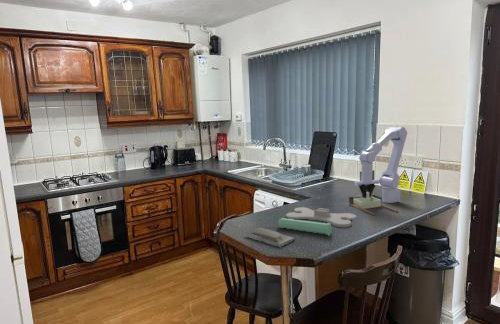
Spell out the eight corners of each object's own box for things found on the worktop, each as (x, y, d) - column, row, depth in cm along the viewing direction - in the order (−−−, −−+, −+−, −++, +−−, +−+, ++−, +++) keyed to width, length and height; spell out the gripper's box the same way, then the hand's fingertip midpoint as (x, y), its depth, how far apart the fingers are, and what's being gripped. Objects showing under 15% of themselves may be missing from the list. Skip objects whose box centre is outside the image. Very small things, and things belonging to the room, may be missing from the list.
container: (277, 216, 159) (328, 222, 146) (282, 217, 164) (332, 223, 151) (275, 228, 158) (327, 236, 145) (280, 229, 163) (331, 236, 150)
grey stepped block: (280, 249, 136) (280, 241, 136) (244, 238, 150) (244, 230, 149) (294, 241, 144) (294, 234, 143) (259, 231, 157) (259, 224, 157)
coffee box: (364, 193, 217) (364, 169, 214) (374, 195, 213) (374, 170, 210) (359, 196, 210) (359, 171, 207) (369, 198, 206) (369, 172, 203)
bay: (369, 202, 196) (369, 193, 196) (397, 213, 174) (398, 203, 173) (346, 205, 192) (346, 195, 192) (372, 217, 170) (372, 206, 169)
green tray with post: (371, 202, 192) (372, 189, 191) (380, 206, 184) (381, 192, 183) (353, 205, 189) (353, 191, 188) (361, 209, 181) (361, 195, 180)
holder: (348, 229, 155) (348, 219, 155) (282, 219, 174) (282, 210, 173) (359, 217, 171) (359, 208, 170) (298, 209, 189) (297, 201, 189)
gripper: (359, 175, 179) (359, 200, 181) (382, 173, 182) (382, 197, 184) (352, 173, 185) (352, 197, 187) (374, 171, 189) (374, 194, 191)
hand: (366, 197), depth 186 cm, fingers closed on green tray with post, 2 cm apart
